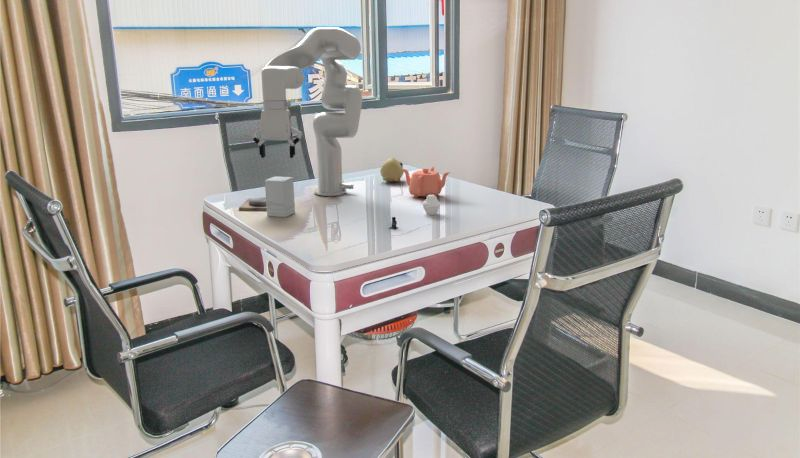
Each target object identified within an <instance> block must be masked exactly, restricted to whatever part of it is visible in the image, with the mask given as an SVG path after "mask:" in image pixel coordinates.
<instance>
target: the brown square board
mask: <svg viewBox="0 0 800 458" xmlns="http://www.w3.org/2000/svg"><path fill="white" fill-rule="evenodd" d="M238 211H264V212H265V211H266V212H267V206H266V196H263V197H262V196H261V197H254V198H248V199H246V200H245V201H244V202H243V203H242V204H241V205H240V206H238Z"/></svg>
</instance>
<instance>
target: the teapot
mask: <svg viewBox="0 0 800 458" xmlns="http://www.w3.org/2000/svg"><path fill="white" fill-rule="evenodd" d="M402 170H403V171H404V175H405V181H406V184H407V186H409V187H408V191H409V194H410V195H411V196H413V198H415V199H419V198H420V197H427V196H428V195H431V194H432V195H435V196H436V197H437V196H439V194H441V192H442V189H444V187H445V184H446V181H447V176H448V175H449V174H450V173H451V172H450V171H449V172H448V171H447V172H444V173H443V175H442V177H441V176H440V172H438V171H435V166H431V167H430V169H429V168H427V167H424V168H422V170H416V171H414V172H413V173H412V174H411V177H410V172H409V171H408V169H405V168H403V169H402Z"/></svg>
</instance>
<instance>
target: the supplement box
mask: <svg viewBox="0 0 800 458" xmlns="http://www.w3.org/2000/svg"><path fill="white" fill-rule="evenodd" d="M264 190H265V197H266V206H267V211H266V216H267V217H279V218H286V217H289V216H291V215H292V214H294V213H296V206H295V205H296V203H295V189H294V177H293V176H291V177H290V176H272V177H269V178H267V179H265V180H264Z"/></svg>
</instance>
